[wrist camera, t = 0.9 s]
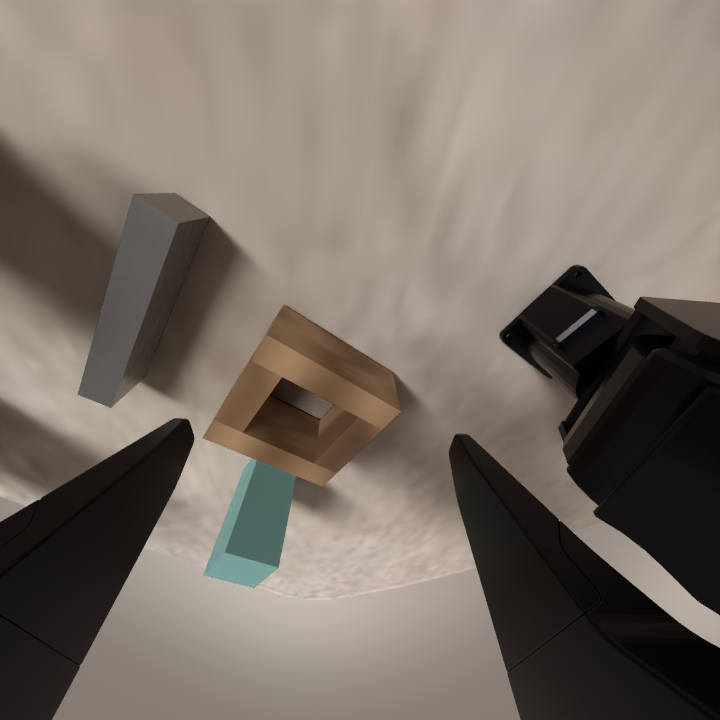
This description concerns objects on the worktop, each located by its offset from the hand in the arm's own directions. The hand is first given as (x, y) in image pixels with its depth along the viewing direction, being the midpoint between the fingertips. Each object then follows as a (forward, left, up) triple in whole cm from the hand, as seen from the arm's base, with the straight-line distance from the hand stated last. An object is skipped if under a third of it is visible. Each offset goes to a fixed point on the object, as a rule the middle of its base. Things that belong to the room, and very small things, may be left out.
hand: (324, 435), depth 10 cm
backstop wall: (+10, +7, -12) cm, 17 cm away
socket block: (-2, +7, -11) cm, 13 cm away
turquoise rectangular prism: (-4, +18, -12) cm, 21 cm away
